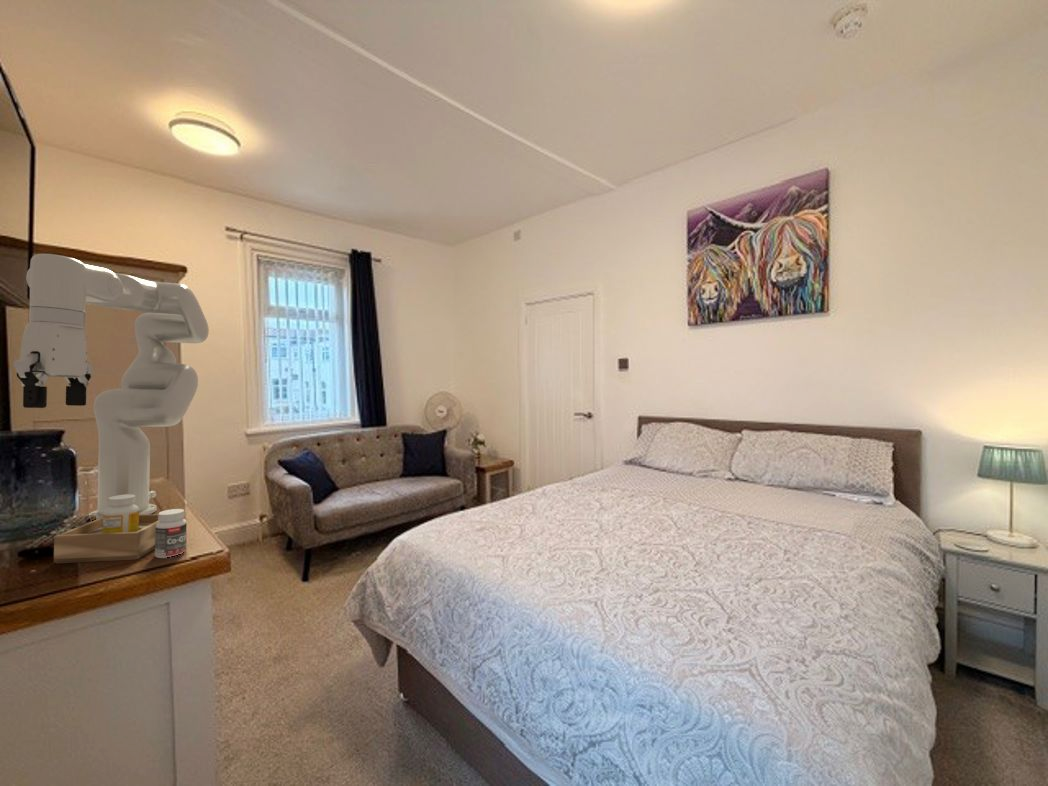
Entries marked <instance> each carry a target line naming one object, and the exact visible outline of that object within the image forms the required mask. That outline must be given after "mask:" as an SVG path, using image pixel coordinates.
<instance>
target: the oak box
mask: <svg viewBox="0 0 1048 786" xmlns="http://www.w3.org/2000/svg"><path fill="white" fill-rule="evenodd" d="M158 522H160V521H158V513H155V514H153V513H151V514H144V515H139V530H138V531H136V532H120V533H103V517H101V518H98V519H96V520H94V521H92V520H90V521H89V522H86V523H84V524H82V525H79V526H76V527H74V528H72V529H69V530H67V531H64V532H62V533H59V534H57V535H54V537H53V538H54V539H53V564H54V563H56V564H71V563H72V564H73V563H89V562H90V563H92V562H110V561H111V562H112V561H115V562H116V561H130V560H132V561H133V560H138V559H140V558H142V557H143V556H145V555H147V554H149V553H150V552H151V551H153V550H154V551H155V530H156V524H157V523H158Z"/></svg>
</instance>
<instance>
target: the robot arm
mask: <svg viewBox="0 0 1048 786" xmlns="http://www.w3.org/2000/svg"><path fill="white" fill-rule="evenodd" d="M26 272H27V273H26V276H25V279H26V283H27V286H28V287H29V311H28V312H29V313H28V315H29V319H28V320H29V322H27V323H26V325H25V328H24V331H23V334H22V337H21V338H22V339H21V346H20V352H19V353H20V354H19V358H18V359H16V360H15V361H13V363H12V366H13V367H14V370H15V372H16V377H17V378H18V379H19V380H20V383H19V384H20V386H21V387H23V389H22V390H23V391H22V392H23V396H22V397H23V398H22V401H23V402H22V407H23V408H25V409H26V408H27V409H31V408H32V409H33V408H34V409H45V408H46V407H47V401H48V387H47V386H45V384H46V383H47V381H48V380H49V378H51V377H55V378H57V377H59V378H64V380H65V381H66V382H67V384H68V385H66V386H65V405H66V406H74V407H75V406H77V407H81V406H86V405H87V387H89V381H90V380H91V378H92V376H91V375H92V374H93V370H94V366H93V365H92V364H91V363H90V362H88V345H87V338H86V332H85V330H86V307H87V306H86V305H90V306H96V307H101V308H102V307H103V308H108V309H119V310H126V311H135V312H138V313H139V312H141V313H142V314H140V315H139V316H137V317H136V319H135V321H134V333H135V339H136V345H137V349H138V350H137V351H138V354H137V355H136V356H135V358H134V359H133V360H132V362H131V364H130V365H129V366H128V368H127V369H126V370H125V372H124V374H123V376H122V377H121V381H120V386H121V388H113V389H107V390H104V391H102V392H101V393H100V394H98V395H97V396H96V397H95V399H94V402H93V412H94V418H95V422H96V428H97V432H98V434H97V435H98V463H97V464H98V465H97V509H95V510H93V511H90V512H89V513H88V515H94V516H96V518H97V519H98V518H101V517H103V512H104V511H105V509H107V508H109V507H110V506H109V505H108V499H109V498H110V497H112V496H117V495H126V494H132V495H135V502H134V503H133V504H134V505H137V506H138V507H139V515H144V514H153V513H156V511H157V505H156V504H153V503H150V500H151V499H153V498H155V497H156V496H157V492H156V491H155V490H151V491H150V473H151V472H150V469H151V468H150V467H151V464H150V463H151V462H150V461H151V444H150V443H151V442H150V440H149V438H148V437H147V435H146V434H145V432H144V431H143V430H142V429H141V428H142V427H143V428H144V427H148V428H150V427H151V428H152V427H161V428H162V427H164V428H165V427H166V428H167V427H173V426H176V425H177V424H180V422H181V421H182V419H183V418H184V416H185V414H186V413H187V410H188V409H189V406H190V405H191V403H192V401H193V398H194V396H195V394H196V392H197V389H198V385H199V377H198V374H197V372H196V370H195V369H194V367H192V366H190V365H188V364H183V363H177V358H176V356H175V354H174V353H173V351H172V350H171V349H170V348H168V346H166V345H165V344H164V343H178V344H180V343H181V344H200V343H203V342H205V341H206V340H207V338H208V336H209V325H208V321H207V319H206V317H205V314H204V312H203V310H202V307H201V305H200V303H199V301H198V299H197V297H196V296H195V294H194V292H193V291H192V290H191V289H190V288H189V287H188V286H187V285H185V284H182V283H176V282H175V283H173V282H164V281H163V282H162V281H153V280H146V279H144V278H139V277H137V276H132V275H129V274H125V273H116V272H113V271H112V270H110V269H108V268H105V267H100V266H96V265H90V264H86V263H84V262H82V261H81V260H78V259H76V258H73V257H69V256H65V255H59V254H53V253H38V254H37V253H36V254H33V256H32V257H31V258H30V263H29V269H28V270H27V271H26Z"/></svg>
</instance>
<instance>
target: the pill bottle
mask: <svg viewBox="0 0 1048 786" xmlns="http://www.w3.org/2000/svg"><path fill="white" fill-rule="evenodd" d="M157 514H158V521H160V522H158V523H157V524H156V530H155V549H154V556H155V557H156V558H158V559H168V558H167V557H170V558H172V557H171V556H174V555H178V554H180V553H183V552H184V551H185V550H186V549H187V520H186V519H185V509H184V508H172V509H165V510H162V511H159V512H158V513H157ZM185 552H186V551H185ZM185 552H184V553H185ZM184 553H183V554H184ZM178 556H179V555H178Z"/></svg>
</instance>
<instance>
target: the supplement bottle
mask: <svg viewBox="0 0 1048 786" xmlns="http://www.w3.org/2000/svg"><path fill="white" fill-rule="evenodd" d="M134 502H135V495H132V494H126V495H117V496H112V497H110V498H109V499H108V505H109V506H110V507H109V508H107V509H105V511H104V512H103V533H120V532H136V531H138V530H139V507H138V506H137V505H134V504H133V503H134Z"/></svg>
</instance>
